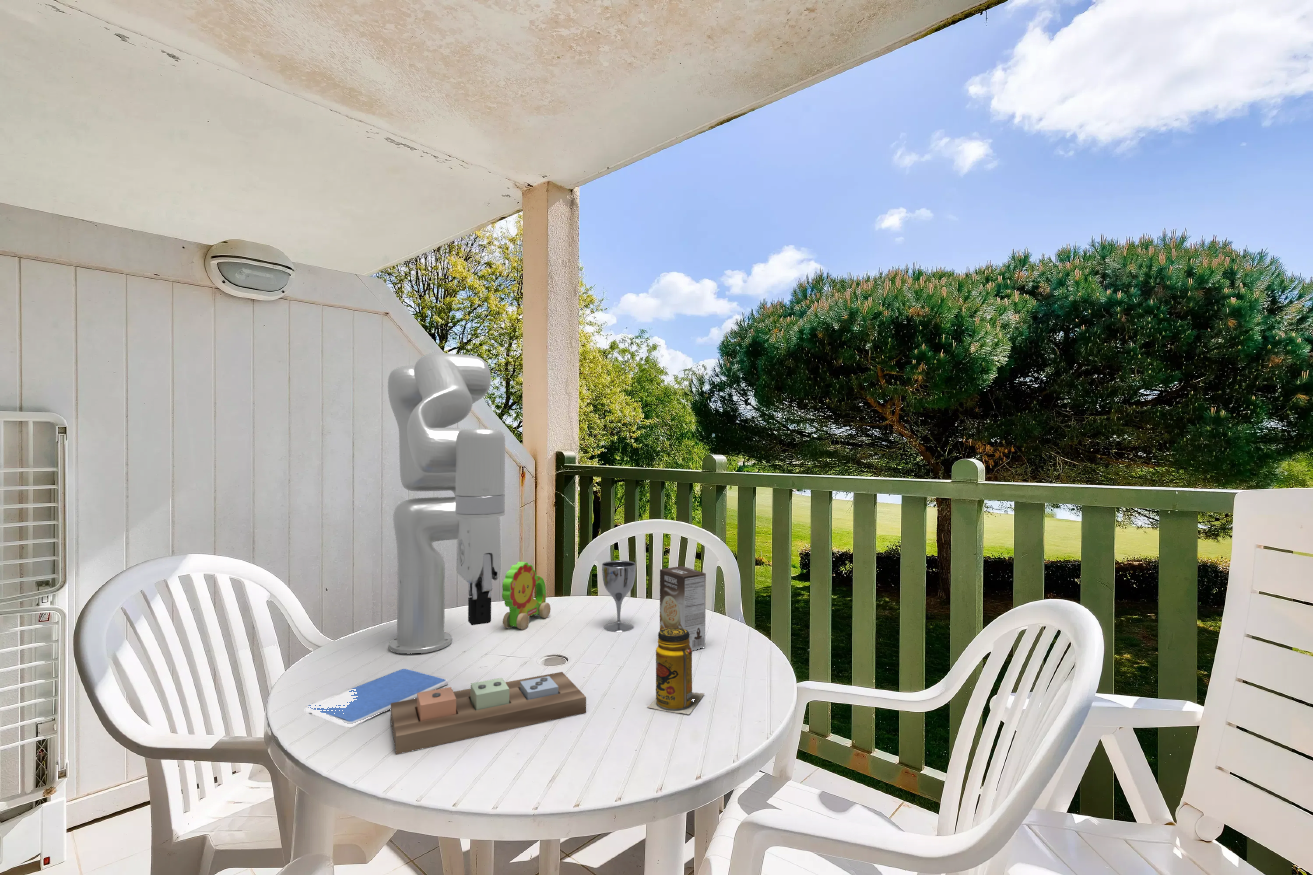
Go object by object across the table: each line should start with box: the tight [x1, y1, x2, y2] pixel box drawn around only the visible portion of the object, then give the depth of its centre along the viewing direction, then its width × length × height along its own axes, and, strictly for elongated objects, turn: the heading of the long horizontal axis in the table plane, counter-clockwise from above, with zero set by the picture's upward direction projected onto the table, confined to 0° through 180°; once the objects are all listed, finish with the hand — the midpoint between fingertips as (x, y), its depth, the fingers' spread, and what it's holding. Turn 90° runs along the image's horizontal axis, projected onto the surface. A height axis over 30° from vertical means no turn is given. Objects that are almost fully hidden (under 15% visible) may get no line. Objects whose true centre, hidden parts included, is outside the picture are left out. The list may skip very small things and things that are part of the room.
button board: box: [390, 671, 587, 755], centre depth 94 cm, size 12×28×2 cm, turn 118°
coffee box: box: [659, 565, 707, 651], centre depth 127 cm, size 9×6×16 cm
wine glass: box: [601, 560, 637, 633], centre depth 140 cm, size 8×8×15 cm
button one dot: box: [417, 686, 456, 722], centre depth 90 cm, size 5×5×3 cm
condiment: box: [647, 627, 705, 715], centre depth 99 cm, size 7×8×12 cm
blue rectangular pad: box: [307, 668, 449, 724], centre depth 101 cm, size 19×13×1 cm, turn 151°
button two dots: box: [470, 677, 509, 710], centre depth 94 cm, size 5×5×3 cm
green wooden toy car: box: [501, 561, 552, 630], centre depth 143 cm, size 16×6×15 cm, turn 159°
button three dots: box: [520, 676, 558, 700], centre depth 97 cm, size 5×5×3 cm
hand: (479, 622), depth 93 cm, fingers closed
